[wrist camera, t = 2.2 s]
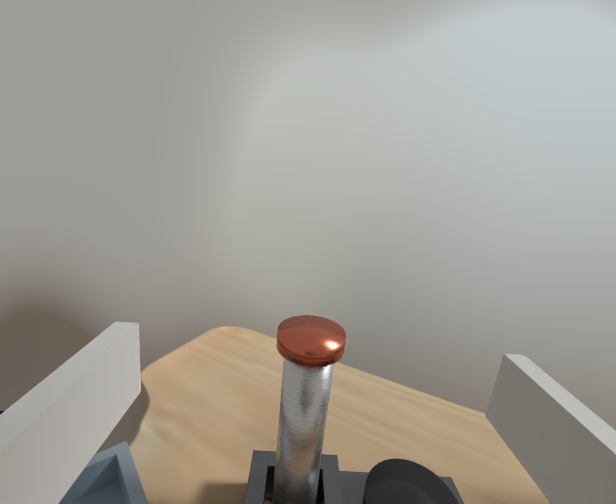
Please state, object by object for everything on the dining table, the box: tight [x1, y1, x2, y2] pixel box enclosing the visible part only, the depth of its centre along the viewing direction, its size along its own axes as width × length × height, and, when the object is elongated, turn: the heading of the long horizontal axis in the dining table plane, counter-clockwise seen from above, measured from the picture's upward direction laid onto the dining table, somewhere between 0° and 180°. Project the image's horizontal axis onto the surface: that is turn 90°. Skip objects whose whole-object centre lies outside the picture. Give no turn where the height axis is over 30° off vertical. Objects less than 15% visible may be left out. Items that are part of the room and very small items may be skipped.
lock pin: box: [272, 315, 346, 504], centre depth 24 cm, size 5×5×19 cm
